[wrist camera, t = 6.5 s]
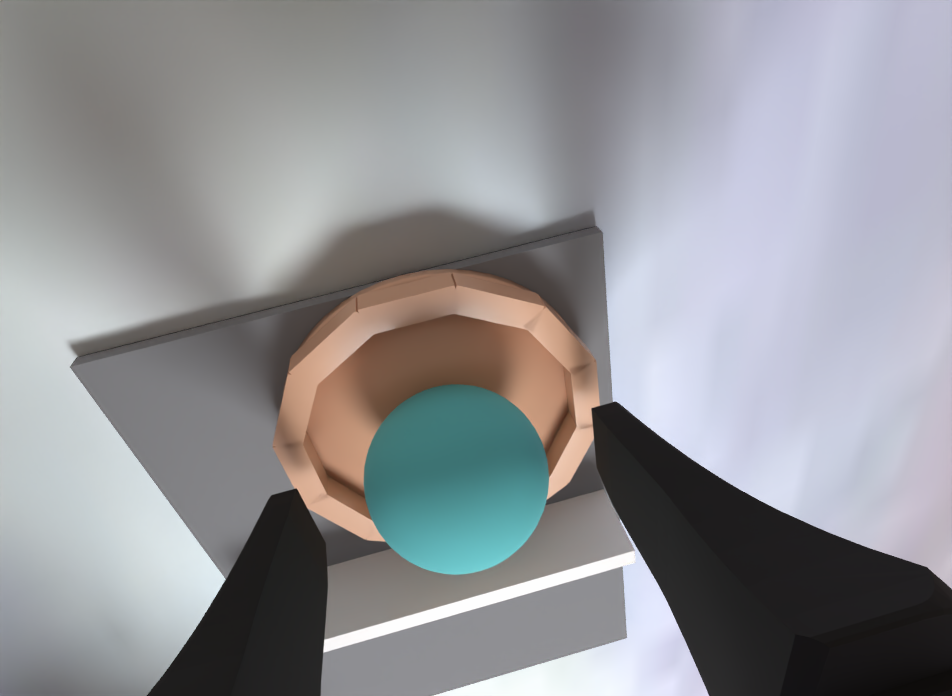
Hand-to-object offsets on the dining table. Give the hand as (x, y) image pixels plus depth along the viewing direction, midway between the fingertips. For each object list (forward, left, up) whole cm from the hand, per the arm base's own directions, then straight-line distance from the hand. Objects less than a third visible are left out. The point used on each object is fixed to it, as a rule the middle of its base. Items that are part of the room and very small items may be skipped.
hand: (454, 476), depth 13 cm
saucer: (0, 0, -3) cm, 3 cm away
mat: (-5, +1, -3) cm, 6 cm away
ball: (0, 0, -2) cm, 2 cm away
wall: (-5, +1, -3) cm, 6 cm away
